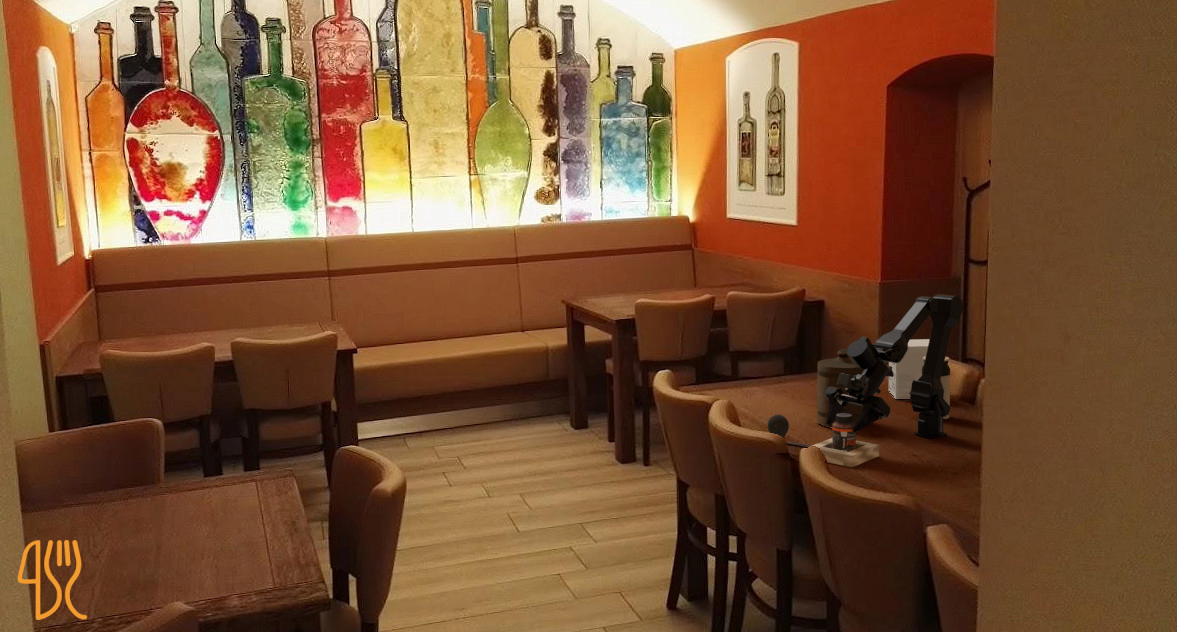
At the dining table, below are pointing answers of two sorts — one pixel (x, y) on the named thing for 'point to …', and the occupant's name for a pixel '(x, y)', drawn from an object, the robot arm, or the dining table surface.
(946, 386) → the travel mug
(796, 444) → the dark grey rod
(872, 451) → the cream square shallow tray
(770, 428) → the light bulb
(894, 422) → the dining table surface
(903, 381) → the supplement box
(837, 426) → the supplement bottle
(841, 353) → the wooden container
